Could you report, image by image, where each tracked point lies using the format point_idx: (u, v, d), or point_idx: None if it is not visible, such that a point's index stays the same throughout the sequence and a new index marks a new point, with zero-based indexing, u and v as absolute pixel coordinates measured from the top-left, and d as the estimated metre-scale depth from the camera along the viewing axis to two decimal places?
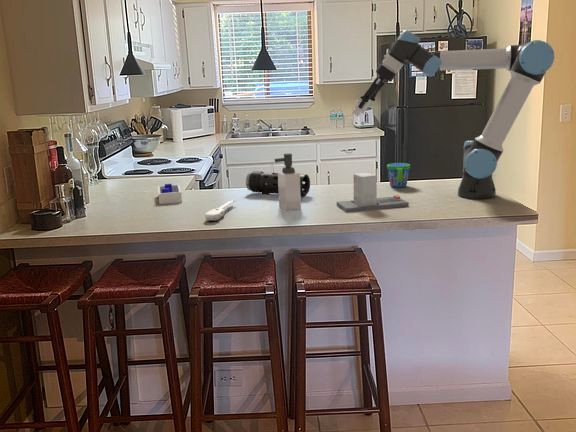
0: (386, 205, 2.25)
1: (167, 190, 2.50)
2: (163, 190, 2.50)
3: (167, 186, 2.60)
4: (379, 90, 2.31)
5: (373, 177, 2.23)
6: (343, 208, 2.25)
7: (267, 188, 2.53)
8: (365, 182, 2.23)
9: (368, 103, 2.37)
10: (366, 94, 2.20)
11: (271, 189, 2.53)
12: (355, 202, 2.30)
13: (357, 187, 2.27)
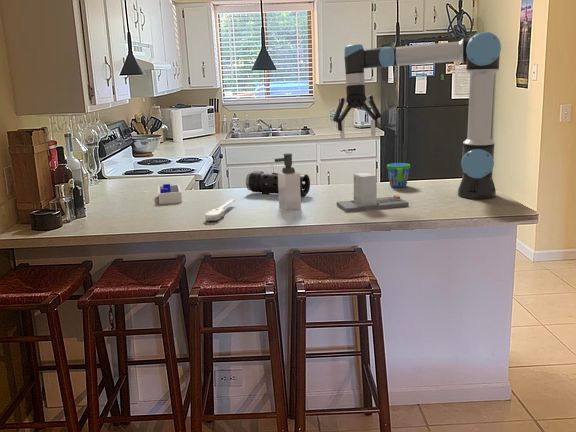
0: (386, 205, 2.25)
1: (166, 190, 2.50)
2: (162, 190, 2.49)
3: (166, 186, 2.60)
4: (364, 107, 2.34)
5: (373, 177, 2.23)
6: (343, 208, 2.25)
7: (267, 188, 2.53)
8: (365, 182, 2.23)
9: (372, 124, 2.37)
10: (334, 116, 2.33)
11: (271, 189, 2.53)
12: (355, 202, 2.30)
13: (357, 187, 2.27)
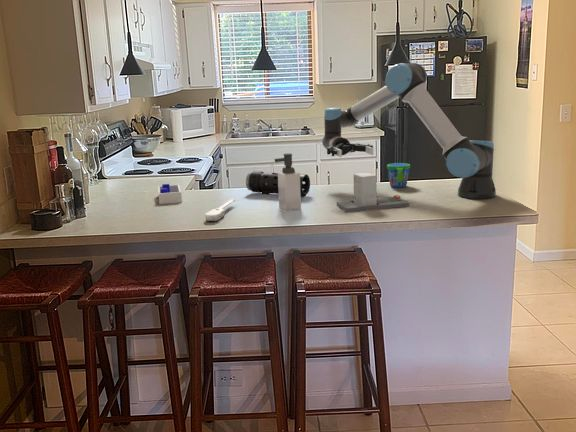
0: (386, 205, 2.25)
1: (165, 190, 2.50)
2: (161, 190, 2.49)
3: (165, 186, 2.60)
4: (353, 144, 2.45)
5: (373, 177, 2.23)
6: (343, 208, 2.25)
7: (267, 188, 2.53)
8: (365, 182, 2.23)
9: (367, 148, 2.39)
10: None
11: (271, 189, 2.53)
12: (355, 202, 2.30)
13: (357, 187, 2.27)
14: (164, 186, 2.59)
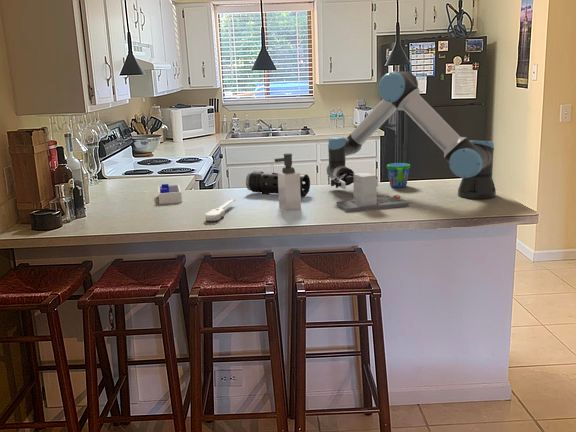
0: (386, 205, 2.25)
1: (165, 190, 2.50)
2: (161, 190, 2.49)
3: (164, 186, 2.60)
4: None
5: (373, 177, 2.23)
6: (343, 208, 2.25)
7: (267, 188, 2.53)
8: (365, 182, 2.23)
9: None
10: None
11: (271, 189, 2.53)
12: (355, 202, 2.30)
13: (357, 187, 2.27)
14: (163, 186, 2.59)
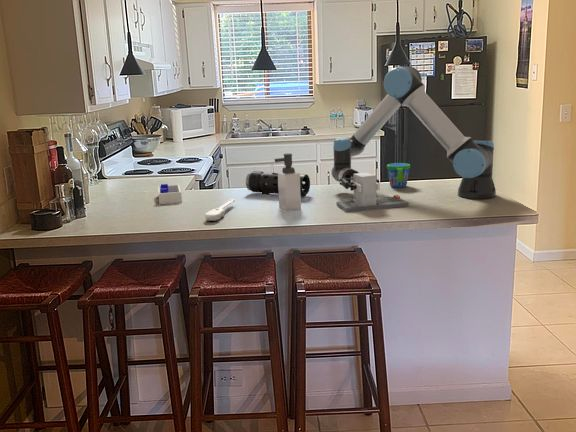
0: (386, 205, 2.25)
1: (165, 190, 2.50)
2: (161, 190, 2.49)
3: (163, 186, 2.59)
4: None
5: (373, 177, 2.23)
6: (343, 208, 2.25)
7: (267, 188, 2.53)
8: (365, 182, 2.23)
9: None
10: (345, 186, 2.30)
11: (271, 189, 2.53)
12: (355, 202, 2.30)
13: None
14: (163, 186, 2.59)
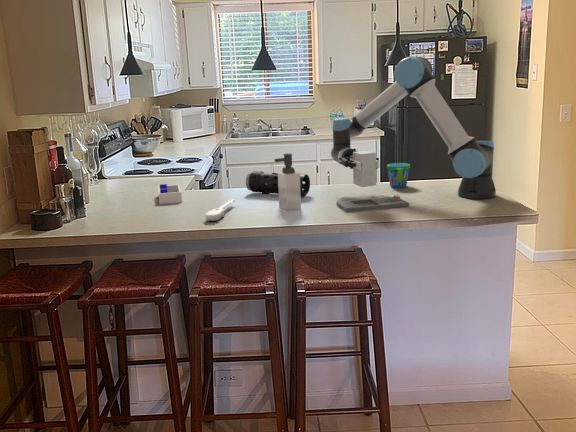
0: (386, 205, 2.25)
1: (166, 190, 2.50)
2: (161, 190, 2.49)
3: (162, 186, 2.59)
4: None
5: (372, 154, 2.21)
6: (343, 208, 2.25)
7: (267, 188, 2.53)
8: (364, 159, 2.20)
9: None
10: (344, 164, 2.28)
11: (271, 189, 2.53)
12: (355, 180, 2.28)
13: None
14: (162, 186, 2.59)
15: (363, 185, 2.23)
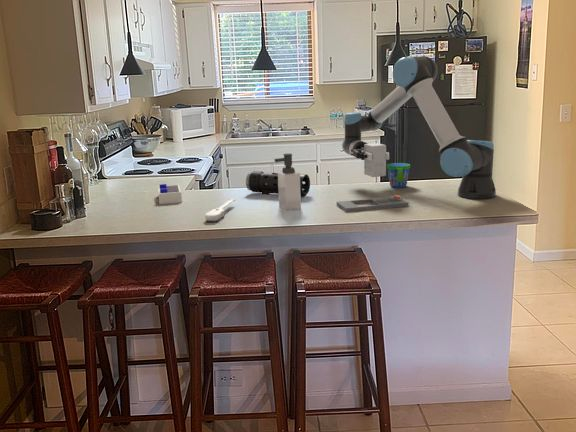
0: (386, 205, 2.25)
1: (165, 190, 2.50)
2: (161, 190, 2.49)
3: (162, 186, 2.59)
4: None
5: (383, 147, 2.36)
6: (343, 208, 2.25)
7: (267, 188, 2.53)
8: (375, 151, 2.36)
9: None
10: (356, 156, 2.43)
11: (271, 189, 2.53)
12: (365, 171, 2.43)
13: None
14: (161, 186, 2.59)
15: (374, 175, 2.38)
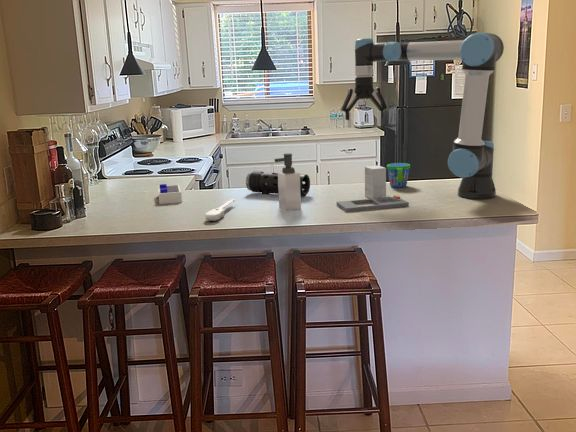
0: (386, 205, 2.25)
1: (166, 190, 2.49)
2: (161, 190, 2.49)
3: (162, 186, 2.59)
4: (371, 98, 2.46)
5: (383, 169, 2.39)
6: (343, 208, 2.25)
7: (267, 188, 2.53)
8: (375, 174, 2.38)
9: (378, 114, 2.49)
10: (342, 106, 2.46)
11: (271, 189, 2.53)
12: (366, 193, 2.46)
13: (368, 179, 2.42)
14: (161, 186, 2.59)
15: None
